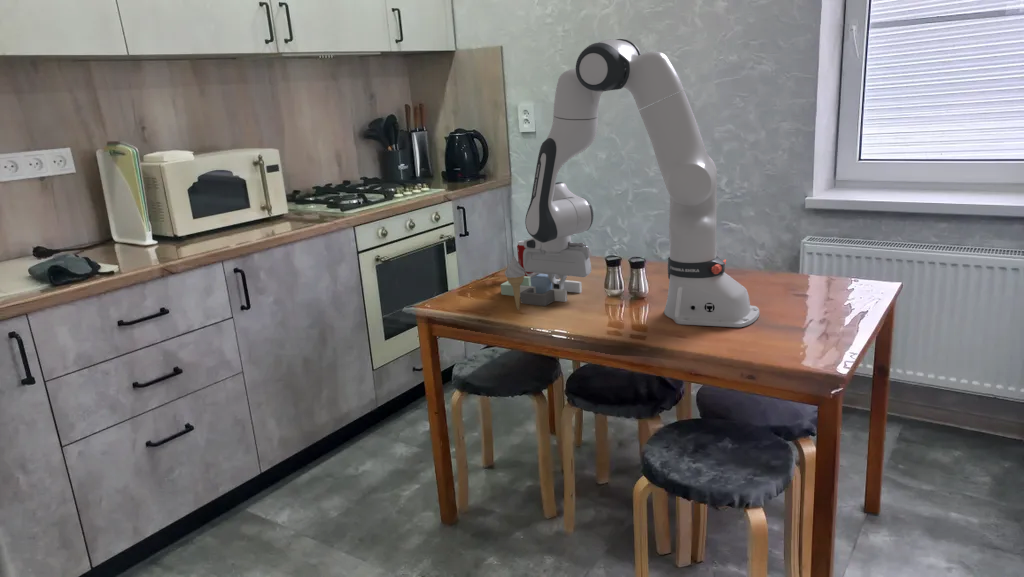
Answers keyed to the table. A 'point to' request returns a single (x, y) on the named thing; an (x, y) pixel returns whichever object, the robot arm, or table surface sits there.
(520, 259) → the soda can
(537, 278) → the block
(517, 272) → the ice cream cone
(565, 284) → the box
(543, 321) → the table surface
